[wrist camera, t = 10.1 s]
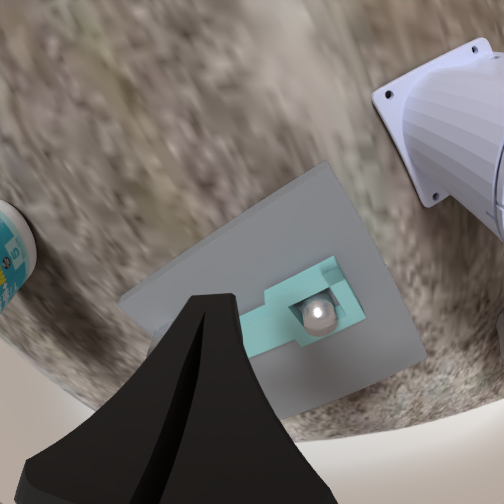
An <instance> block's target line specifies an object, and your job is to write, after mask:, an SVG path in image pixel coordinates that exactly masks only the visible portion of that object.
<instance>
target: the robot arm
mask: <svg viewBox="0 0 504 504" xmlns="http://www.w3.org/2000/svg"><path fill="white" fill-rule="evenodd" d="M472 47H473V48H474V50H475V51H474V53H473V52H472ZM388 90H389V91H390V92H391V97H390V98H389V99H387V98H386V97H385V92H386V91H388ZM372 102H373V104H374V106H375V107H376V109H377V111H378V113H379V115H380V116H381V118H382V120H383V122H384V124H385V126H386V128H387V130H388V131H389V133H390V135H391V137H392V139H393V141H394V143H395V145H396V147H397V149H398V151H399V153H400V155H401V157H402V160H403V162H404V164H405V166H406V168H407V170H408V172H409V175H410V177H411V179H412V181H413V184H414V186H415V188H416V191H417V193H418V195H419V198H420V200H421V203H422V204H423V205H424V206H425V207H428V208H430V207H432V206H434V205H435V204H437V203H438V202H440V201H442V200H443V199H445V198H446V197H448V196H449V195H452V196H453V197H454V198H455V199H456V200H458V201H459V202H460V203H461V204H462V205H463V206H465V207H466V208H467V209H468V210H469V211H470V212H471V213H473V214H474V215H475V216H476V217H477V218H478V219H479V220H480V221H481V222H482V223H484V224H485V225H486V226H487V227H488V228H489V229H490V230H491V231H492V232H493V233H494V234H495V235H496V236H497V237H498V238H499V239H500V240H501V241H502V242H503V243H504V53H500V52H493V51H492V49H491V47H490V44H489V42H488V41H487V40H486V39H485V38H477V39H475V40H473V41H471V42H468V43H466V44H464V45H462V46H460V47H458V48H456V49H454V50H452V51H450V52H448V53H446V54H444V55H442V56H439V57H438V58H436V59H434V60H432V61H430V62H428V63H426V64H424V65H422V66H420V67H418V68H416V69H414V70H412V71H410V72H409V73H407V74H405V75H403V76H401V77H399V78H397V79H396V80H394V81H392V82H390V83H388V84H386V85H385V86H383V87H381V88H379V89H377V90H376V91H375V92H373V94H372ZM435 193H437V195H436V197H435V198H433V195H434V194H435ZM14 500H15V502H16V503H17V504H338V503H337V501H336V499H335V497H334V496H333V494H332V492H331V490H330V488H329V487H328V486H327V485H326V483H325V482H324V481H323V480H322V479H321V478H320V476H319V475H318V474H317V473H316V471H315V470H314V469H313V468H312V467H311V465H310V464H309V463H308V461H307V460H306V459H305V457H304V456H303V455H302V453H301V452H300V451H299V449H298V448H297V446H296V445H295V444H294V442H293V441H292V439H291V437H290V436H289V434H288V433H287V431H286V430H285V428H284V427H283V425H282V423H281V422H280V420H279V419H278V417H277V416H276V414H275V412H274V410H273V409H272V407H271V405H270V403H269V401H268V400H267V398H266V396H265V394H264V392H263V390H262V388H261V386H260V384H259V382H258V380H257V377H256V375H255V373H254V371H253V368H252V366H251V363H250V361H249V359H248V356H247V353H246V351H245V348H244V345H243V334H242V329H241V323H240V318H239V312H238V306H237V301H236V296H235V295H234V294H232V293H221V294H206V295H192V296H191V297H190V298H189V299H188V301H187V302H186V304H185V305H184V307H183V308H182V310H181V311H180V313H179V314H178V316H177V317H176V319H175V320H174V322H173V323H172V325H171V326H170V327H169V329H168V330H167V332H166V333H165V334H164V336H163V337H162V339H161V340H160V341H159V343H158V344H157V346H156V347H155V348H154V349H153V351H152V352H151V353H150V355H149V356H148V357H147V358H146V360H145V361H144V362H143V363H142V365H141V366H140V367H139V368H138V369H137V371H136V372H135V373H134V374H133V375H132V376H131V378H130V379H129V380H128V381H127V382H126V383H125V384H124V385H123V386H122V387H121V388H120V389H119V390H118V392H117V393H116V394H115V395H114V396H113V397H111V398H110V399H109V400H108V401H107V402H106V403H105V404H104V405H103V406H102V407H101V408H100V409H98V410H97V411H96V412H95V413H94V414H93V415H92V416H91V417H90V418H88V419H87V420H86V421H85V422H83V423H82V424H81V425H79V426H78V427H77V428H76V429H74V430H73V431H72V432H70V433H69V434H68V435H66V436H65V437H64V438H62V439H60V440H59V441H57V442H56V443H54V444H53V445H51V446H49V447H48V448H46V449H45V450H43V451H41V452H40V453H38V454H36V455H34V456H33V457H31V458H29V459H27V460H26V462H25V465H24V468H23V471H22V474H21V477H20V480H19V484H18V487H17V490H16V494H15V498H14ZM0 504H2V503H0Z"/></svg>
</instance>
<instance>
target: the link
mask: <svg viewBox="0 0 504 504" xmlns="http://www.w3.org/2000/svg"><path fill="white" fill-rule="evenodd" d="M328 287H330V289H331V290H332V292H333V293H334V295H335V297H336V298H337V300H338V301H339V303H340V305H339V306H337V307H335V308H334V309H335V313H336V317H337V321H338V325H337V327H336V329H335V330H334V331H333V332H332V333H330V334H328V335H326V336H322V337H315V336H311V335H309V334H308V333H307V332H306V331H305V328H304V322H303V316H302V314H301V313H300V312H299V310H298V309H297V308H296V306H295V305H294V304H295V303H297V302H299V301H301V300H303V299H305V298H308V297H310V296H312V295H314V294H316V293H318V292H320V291H322V290H324V289H326V288H328ZM264 296H265V305H263V306H261V307H259V308H256V309H254V310H252V311H250V312H248V313H246V314H244V315H241V316H239V318H240V323H241V329H242V334H243V345H244V348H245V351H246V353H247V356H248V358H250V357H252V356H255V355H258V354H260V353H263V352H265V351H268V350H270V349H273V348H275V347H277V346H280V345H282V344H285V343H287V342H289V341H292V340H294V339H295V340H296V341H297V342H298V343H299V345H300V346H301V347H303V346H306V345H308V344H310V343H313V342H315V341H317V340H320V339H322V338H324V337H327V336H329V335H331V334H333V333H336V332H338V331H340V330H342V329H344V328H347V327H349V326H351V325H353V324H355V323H357V322H359V321H361V320H363V319H366V316H365V313H364V310H363V307H362V305H361V303H360V301H359V299H358V298H357V296H356V294H355V292H354V290H353V289H352V287H351V285H350V283H349V281H348V280H347V278H346V276H345V274H344V273H343V271H342V269H341V267H340V266H339V264H338V262H337V260H336V259H335V257H334V256H332V257H330V258H328V259H326V260H324V261H322V262H320V263H318V264H316V265H314V266H312V267H310V268H308V269H307V270H305V271H303V272H301V273H299V274H297V275H295V276H293V277H291V278H289V279H287V280H285V281H283V282H281V283H279V284H277V285H275V286H273V287H271V288H269V289H267V290H265V291H264Z"/></svg>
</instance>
